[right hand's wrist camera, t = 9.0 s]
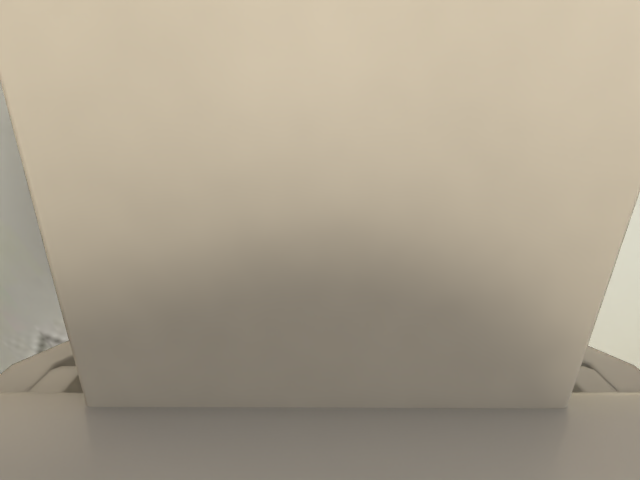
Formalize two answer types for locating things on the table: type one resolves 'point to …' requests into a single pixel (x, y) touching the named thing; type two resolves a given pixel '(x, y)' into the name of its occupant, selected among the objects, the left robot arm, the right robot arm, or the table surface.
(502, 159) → the box
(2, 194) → the table surface
